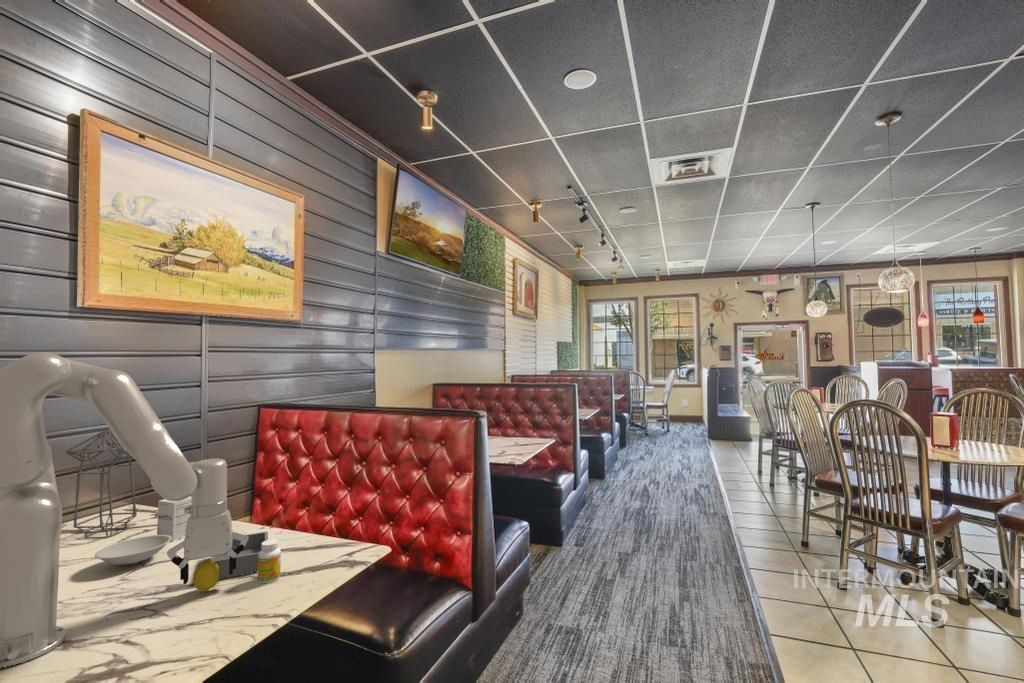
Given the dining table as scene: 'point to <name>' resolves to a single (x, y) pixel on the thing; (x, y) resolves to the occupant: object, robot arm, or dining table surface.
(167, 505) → the supplement box
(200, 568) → the lemon
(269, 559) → the supplement bottle
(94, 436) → the geometric lantern
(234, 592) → the dining table surface
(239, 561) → the tote
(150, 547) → the dish
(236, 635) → the dining table surface
